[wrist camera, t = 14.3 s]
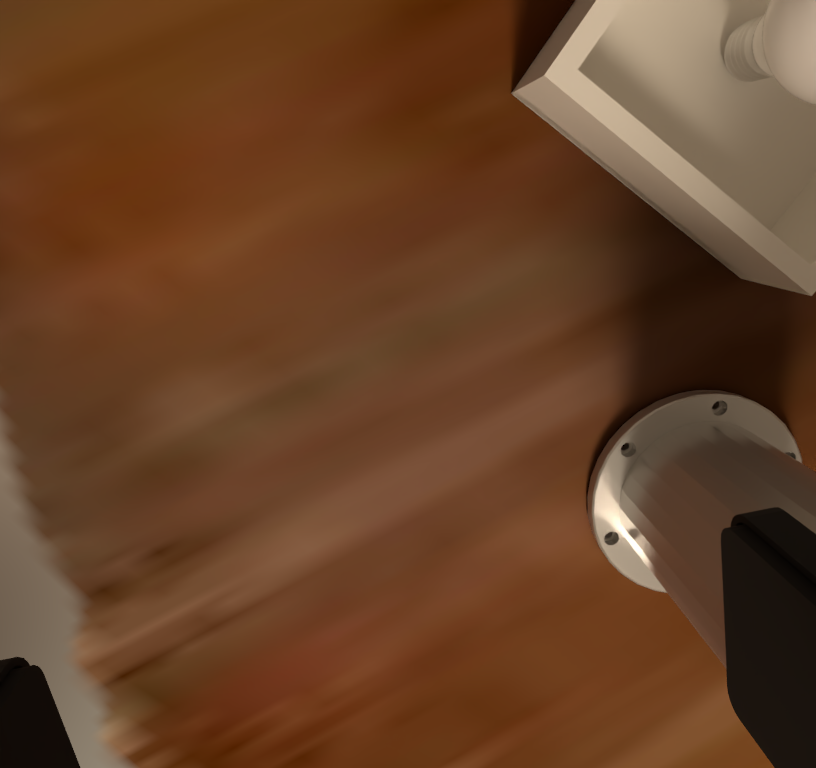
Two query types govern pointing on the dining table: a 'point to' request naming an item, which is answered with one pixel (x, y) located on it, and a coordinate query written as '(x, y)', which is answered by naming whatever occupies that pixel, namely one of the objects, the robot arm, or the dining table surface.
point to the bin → (687, 128)
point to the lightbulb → (777, 48)
